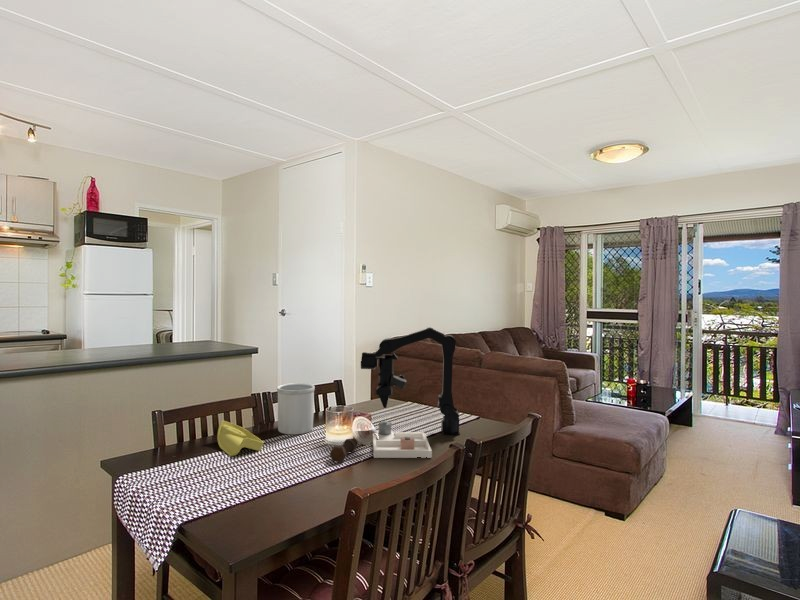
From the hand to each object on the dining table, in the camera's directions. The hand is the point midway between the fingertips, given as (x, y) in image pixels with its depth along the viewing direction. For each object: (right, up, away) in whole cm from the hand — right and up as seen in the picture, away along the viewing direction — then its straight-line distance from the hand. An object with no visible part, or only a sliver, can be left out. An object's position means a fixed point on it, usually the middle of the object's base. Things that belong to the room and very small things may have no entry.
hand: (385, 407), depth 191 cm
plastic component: (-52, -9, -24) cm, 58 cm away
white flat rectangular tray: (+6, -10, -16) cm, 20 cm away
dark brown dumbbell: (-13, -10, -29) cm, 33 cm away
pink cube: (+9, -9, -25) cm, 28 cm away
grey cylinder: (0, -9, -6) cm, 11 cm away
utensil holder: (-36, -8, -3) cm, 37 cm away
